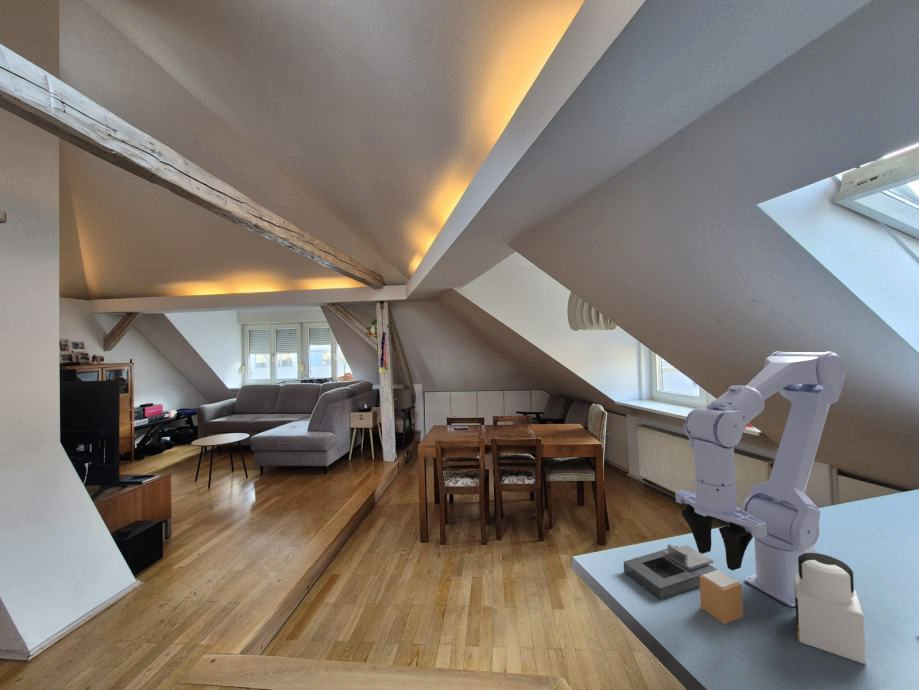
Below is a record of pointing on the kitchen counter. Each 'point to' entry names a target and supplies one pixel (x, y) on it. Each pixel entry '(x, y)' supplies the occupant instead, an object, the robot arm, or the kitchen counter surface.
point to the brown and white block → (721, 596)
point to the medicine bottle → (829, 607)
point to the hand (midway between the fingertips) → (718, 559)
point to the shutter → (687, 557)
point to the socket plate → (663, 574)
